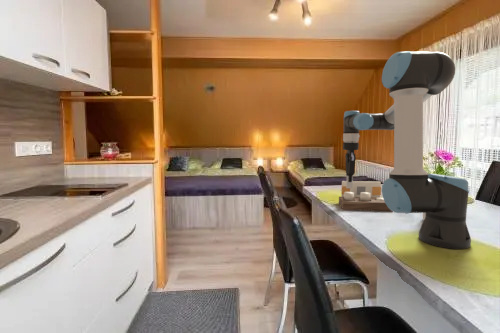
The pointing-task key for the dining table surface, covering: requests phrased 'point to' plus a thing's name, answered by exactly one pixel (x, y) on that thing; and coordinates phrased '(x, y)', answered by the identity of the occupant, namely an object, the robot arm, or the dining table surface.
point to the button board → (363, 204)
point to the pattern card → (363, 188)
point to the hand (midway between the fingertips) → (349, 188)
